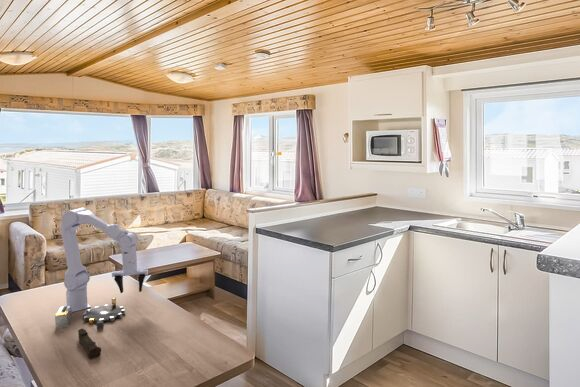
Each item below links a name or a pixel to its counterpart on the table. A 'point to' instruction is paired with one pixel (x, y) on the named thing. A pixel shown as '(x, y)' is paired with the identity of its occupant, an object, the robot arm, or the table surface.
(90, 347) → the dark brown bar
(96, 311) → the sprocket
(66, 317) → the knob box
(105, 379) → the table surface
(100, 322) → the index pointer
